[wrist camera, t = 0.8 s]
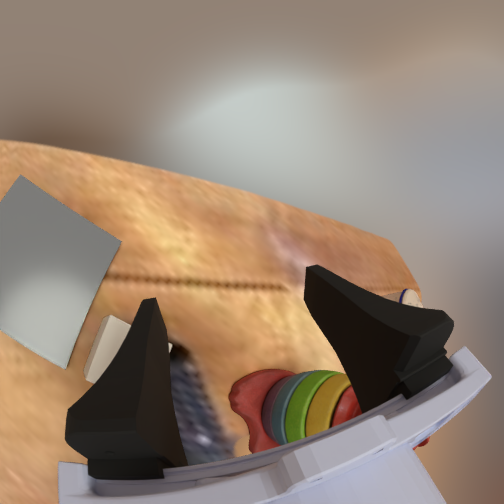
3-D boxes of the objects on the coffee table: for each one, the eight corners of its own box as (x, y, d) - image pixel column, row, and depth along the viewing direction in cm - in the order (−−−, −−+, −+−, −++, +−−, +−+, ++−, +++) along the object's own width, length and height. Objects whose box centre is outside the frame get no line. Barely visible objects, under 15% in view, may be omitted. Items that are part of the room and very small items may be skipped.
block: (135, 392, 20) (151, 406, 16) (83, 370, 18) (86, 380, 14) (153, 342, 23) (172, 344, 19) (103, 318, 21) (110, 314, 17)
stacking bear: (222, 387, 25) (392, 412, 12) (290, 350, 32) (437, 337, 18) (254, 464, 24) (399, 510, 11) (312, 420, 31) (443, 431, 17)
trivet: (65, 367, 17) (65, 369, 16) (-42, 294, 12) (-47, 292, 11) (119, 245, 23) (121, 241, 22) (21, 180, 18) (20, 174, 17)
